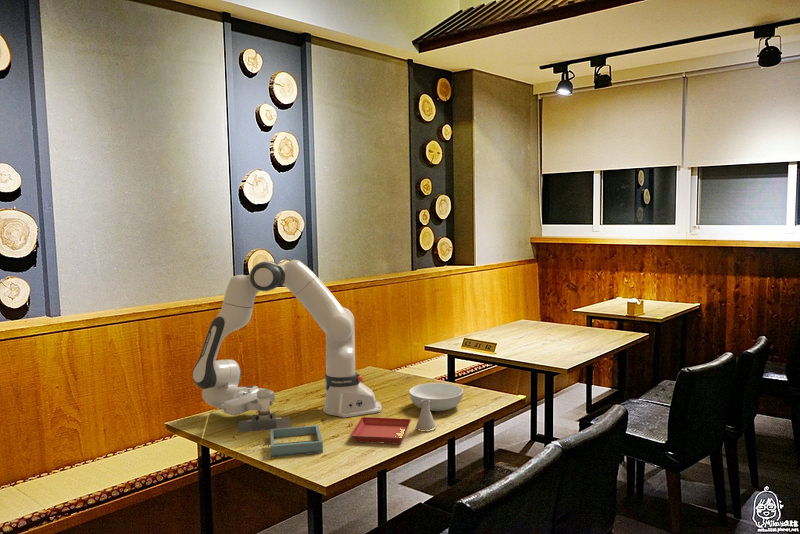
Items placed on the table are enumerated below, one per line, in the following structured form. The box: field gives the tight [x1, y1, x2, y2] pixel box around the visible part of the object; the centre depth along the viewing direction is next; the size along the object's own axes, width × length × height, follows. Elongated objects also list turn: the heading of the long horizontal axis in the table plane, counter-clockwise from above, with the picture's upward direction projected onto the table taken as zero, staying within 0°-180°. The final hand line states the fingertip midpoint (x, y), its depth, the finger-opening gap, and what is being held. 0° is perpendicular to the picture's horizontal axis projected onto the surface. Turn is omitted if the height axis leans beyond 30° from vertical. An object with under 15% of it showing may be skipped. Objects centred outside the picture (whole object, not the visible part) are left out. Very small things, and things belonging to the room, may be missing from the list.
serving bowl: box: [408, 382, 464, 412], centre depth 239 cm, size 21×21×7 cm
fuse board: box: [237, 412, 292, 433], centre depth 219 cm, size 18×12×4 cm, turn 102°
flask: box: [415, 400, 436, 430], centre depth 215 cm, size 7×7×10 cm
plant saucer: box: [349, 416, 412, 444], centre depth 210 cm, size 18×18×3 cm
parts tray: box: [269, 424, 324, 459], centre depth 201 cm, size 16×16×4 cm
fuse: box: [257, 388, 271, 420], centre depth 219 cm, size 4×4×12 cm
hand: (265, 405), depth 218 cm, fingers closed on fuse, 4 cm apart
